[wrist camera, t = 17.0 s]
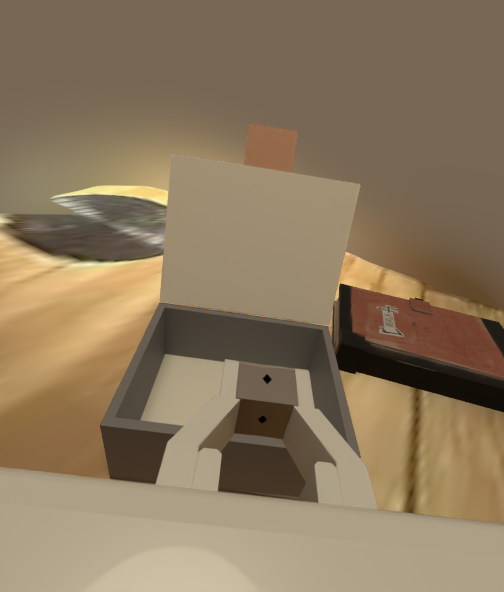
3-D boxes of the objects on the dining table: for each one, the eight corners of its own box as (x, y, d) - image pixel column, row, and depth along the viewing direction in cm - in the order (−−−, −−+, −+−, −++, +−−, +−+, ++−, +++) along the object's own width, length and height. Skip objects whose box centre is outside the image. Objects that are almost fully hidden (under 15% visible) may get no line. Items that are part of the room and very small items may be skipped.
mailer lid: (175, 110, 32) (176, 112, 33) (159, 301, 37) (161, 299, 38) (369, 143, 33) (367, 145, 34) (328, 324, 38) (326, 322, 39)
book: (482, 340, 56) (498, 317, 53) (531, 425, 41) (557, 400, 39) (332, 302, 59) (341, 279, 56) (330, 370, 44) (341, 343, 41)
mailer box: (110, 479, 28) (99, 425, 24) (160, 352, 42) (159, 302, 37) (331, 504, 29) (360, 457, 25) (311, 372, 43) (328, 326, 38)
